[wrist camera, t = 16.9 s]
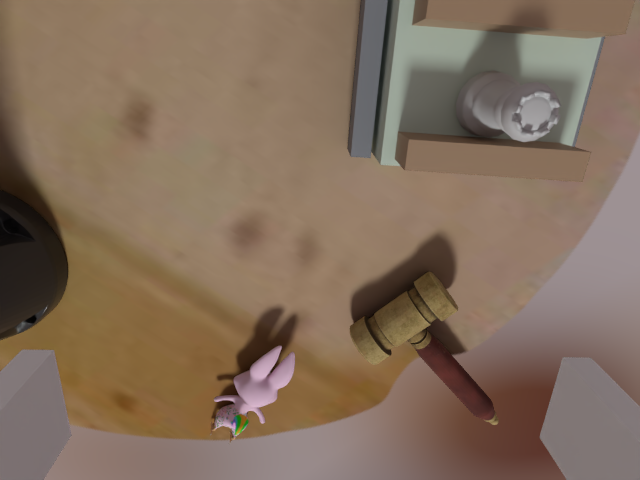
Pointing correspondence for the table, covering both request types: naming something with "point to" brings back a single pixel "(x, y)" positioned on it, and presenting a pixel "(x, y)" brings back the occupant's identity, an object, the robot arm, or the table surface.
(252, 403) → the rabbit figure
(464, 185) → the table surface
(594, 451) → the robot arm
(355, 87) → the bay
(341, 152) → the table surface
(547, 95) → the rook chess piece
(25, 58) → the table surface
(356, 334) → the gavel
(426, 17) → the mint green base plate
